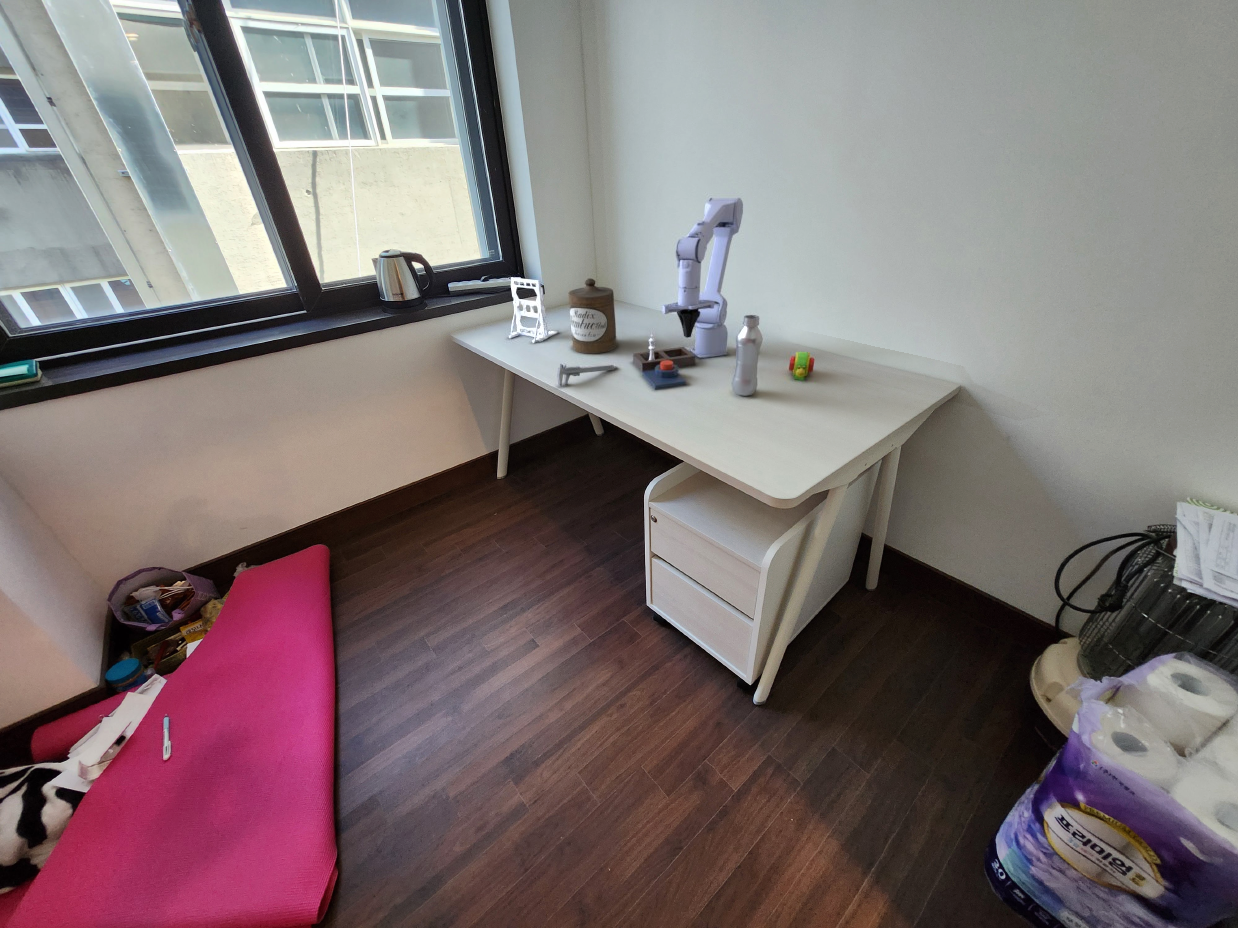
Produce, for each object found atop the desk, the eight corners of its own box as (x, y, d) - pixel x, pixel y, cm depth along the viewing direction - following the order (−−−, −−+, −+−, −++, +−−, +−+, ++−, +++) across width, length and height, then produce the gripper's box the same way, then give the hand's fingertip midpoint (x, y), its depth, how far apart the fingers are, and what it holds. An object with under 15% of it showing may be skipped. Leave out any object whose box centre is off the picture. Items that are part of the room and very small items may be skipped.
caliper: (560, 387, 135) (558, 365, 131) (558, 386, 135) (556, 364, 132) (617, 368, 145) (616, 348, 142) (614, 367, 146) (614, 347, 143)
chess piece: (661, 363, 147) (662, 331, 142) (657, 369, 144) (657, 336, 138) (646, 362, 149) (646, 330, 144) (641, 367, 145) (641, 335, 140)
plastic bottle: (742, 400, 123) (750, 322, 112) (725, 391, 128) (732, 316, 117) (761, 395, 125) (771, 318, 115) (744, 386, 130) (752, 312, 120)
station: (672, 371, 142) (672, 361, 140) (686, 385, 133) (687, 374, 131) (642, 375, 140) (642, 365, 138) (654, 389, 131) (655, 379, 129)
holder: (683, 355, 153) (683, 346, 151) (695, 365, 145) (695, 356, 144) (633, 362, 149) (632, 353, 147) (642, 373, 142) (642, 363, 140)
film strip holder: (561, 332, 178) (555, 276, 168) (536, 343, 168) (528, 284, 158) (531, 328, 185) (524, 273, 174) (506, 338, 175) (497, 280, 165)
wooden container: (565, 351, 160) (558, 282, 148) (584, 338, 172) (579, 273, 160) (606, 356, 155) (602, 285, 143) (623, 342, 167) (620, 275, 155)
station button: (670, 366, 138) (670, 359, 137) (675, 370, 135) (675, 363, 134) (658, 367, 138) (658, 361, 137) (662, 372, 135) (663, 365, 134)
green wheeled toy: (786, 381, 132) (790, 358, 129) (790, 357, 148) (794, 336, 144) (811, 384, 130) (815, 360, 127) (812, 359, 146) (816, 338, 142)
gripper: (669, 292, 124) (668, 343, 131) (720, 286, 127) (717, 337, 134) (659, 286, 130) (659, 336, 137) (709, 281, 133) (706, 330, 140)
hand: (687, 336), depth 136 cm, fingers closed
